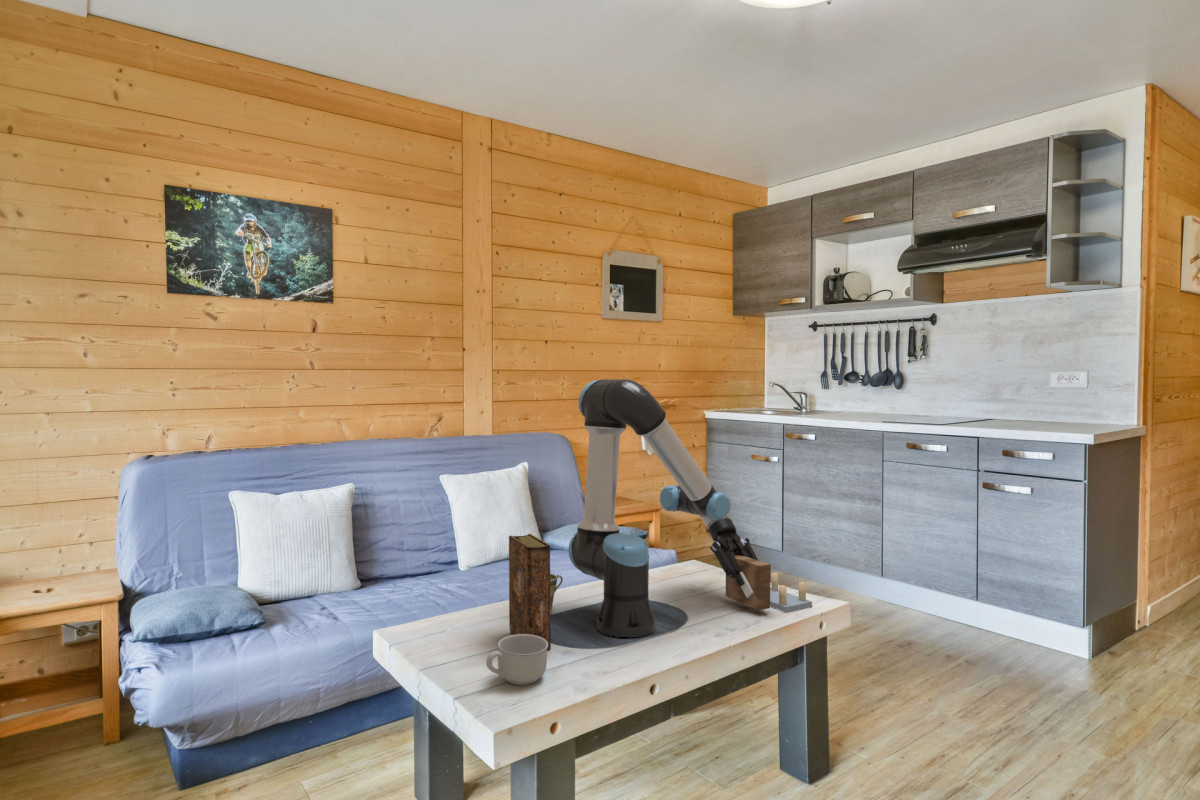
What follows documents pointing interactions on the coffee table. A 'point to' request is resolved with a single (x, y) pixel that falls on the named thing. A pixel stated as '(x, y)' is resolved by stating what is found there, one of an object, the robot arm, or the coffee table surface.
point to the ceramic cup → (553, 587)
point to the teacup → (520, 658)
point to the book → (529, 587)
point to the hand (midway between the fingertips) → (756, 593)
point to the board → (751, 583)
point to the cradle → (787, 596)
